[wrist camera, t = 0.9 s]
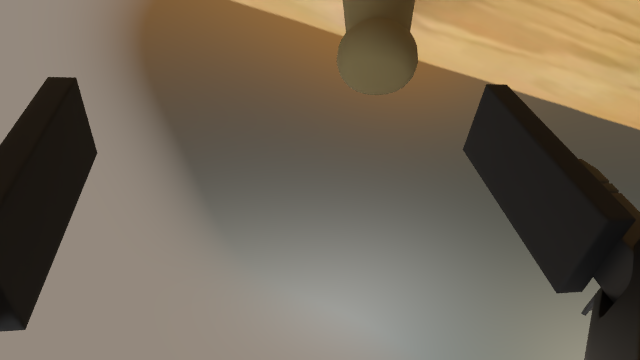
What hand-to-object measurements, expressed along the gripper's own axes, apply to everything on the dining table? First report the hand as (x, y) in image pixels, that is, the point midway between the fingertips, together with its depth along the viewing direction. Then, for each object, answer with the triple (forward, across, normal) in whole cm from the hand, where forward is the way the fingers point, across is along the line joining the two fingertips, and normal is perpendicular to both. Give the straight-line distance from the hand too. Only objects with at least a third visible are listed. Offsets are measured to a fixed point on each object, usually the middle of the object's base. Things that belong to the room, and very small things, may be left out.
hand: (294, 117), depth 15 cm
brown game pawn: (+22, +8, 0) cm, 24 cm away
